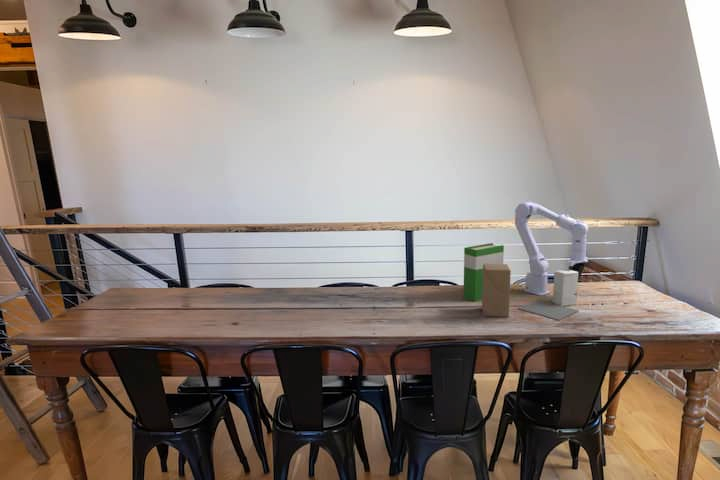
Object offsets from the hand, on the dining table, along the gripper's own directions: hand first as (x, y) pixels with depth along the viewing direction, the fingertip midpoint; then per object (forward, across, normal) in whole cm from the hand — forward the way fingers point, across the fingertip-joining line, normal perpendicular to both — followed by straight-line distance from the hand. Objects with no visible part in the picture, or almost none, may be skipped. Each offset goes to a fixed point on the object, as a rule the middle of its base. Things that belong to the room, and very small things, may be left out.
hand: (576, 278), depth 196 cm
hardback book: (+10, -28, +30) cm, 42 cm away
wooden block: (+10, -42, +13) cm, 45 cm away
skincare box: (+10, -10, 0) cm, 14 cm away
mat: (+9, -23, 0) cm, 24 cm away
